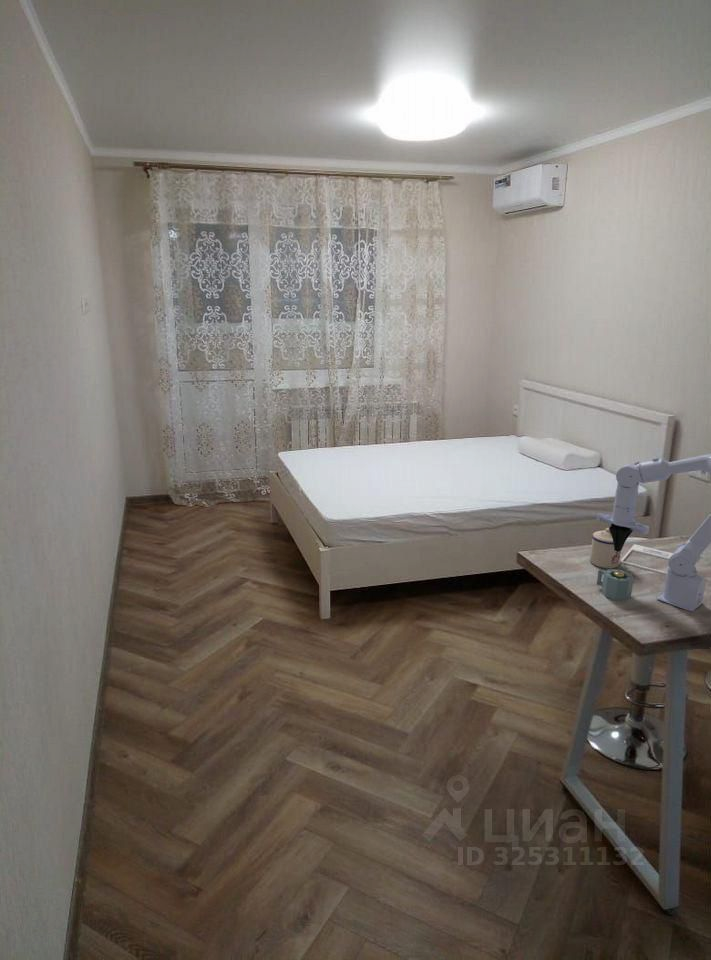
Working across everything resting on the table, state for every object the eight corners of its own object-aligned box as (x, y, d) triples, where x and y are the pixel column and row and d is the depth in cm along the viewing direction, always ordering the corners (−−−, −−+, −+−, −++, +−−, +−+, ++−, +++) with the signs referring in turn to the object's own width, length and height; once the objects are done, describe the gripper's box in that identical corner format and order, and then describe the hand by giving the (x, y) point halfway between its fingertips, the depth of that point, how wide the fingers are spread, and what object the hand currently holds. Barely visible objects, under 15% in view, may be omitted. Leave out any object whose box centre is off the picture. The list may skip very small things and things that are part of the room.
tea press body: (634, 595, 181) (637, 575, 179) (622, 602, 176) (625, 583, 174) (602, 583, 187) (605, 565, 185) (590, 591, 182) (593, 571, 181)
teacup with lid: (616, 571, 196) (622, 536, 192) (586, 564, 200) (590, 530, 197) (622, 558, 206) (628, 524, 202) (593, 552, 210) (598, 518, 207)
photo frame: (681, 554, 208) (669, 573, 194) (681, 558, 208) (669, 576, 194) (634, 543, 216) (619, 560, 202) (633, 546, 216) (619, 563, 202)
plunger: (625, 590, 180) (628, 573, 179) (619, 594, 178) (622, 577, 177) (613, 586, 183) (615, 569, 181) (607, 590, 181) (610, 572, 179)
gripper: (656, 509, 179) (649, 554, 183) (607, 496, 189) (600, 539, 193) (645, 514, 174) (638, 560, 178) (595, 501, 184) (589, 545, 188)
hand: (618, 550), depth 185 cm, fingers closed
